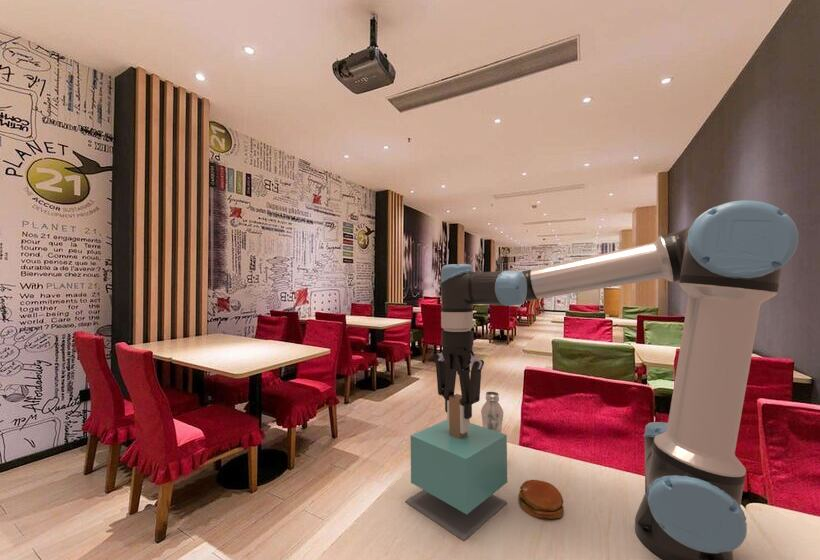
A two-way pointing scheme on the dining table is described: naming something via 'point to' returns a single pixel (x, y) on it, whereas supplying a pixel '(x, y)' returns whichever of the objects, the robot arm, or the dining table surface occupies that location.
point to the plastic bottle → (492, 412)
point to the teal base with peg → (459, 461)
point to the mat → (455, 513)
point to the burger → (541, 499)
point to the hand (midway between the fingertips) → (458, 429)
